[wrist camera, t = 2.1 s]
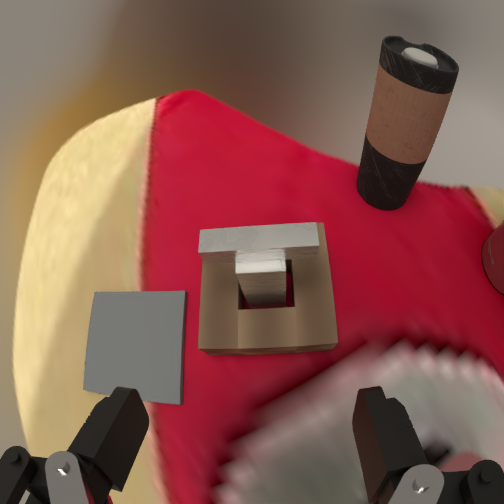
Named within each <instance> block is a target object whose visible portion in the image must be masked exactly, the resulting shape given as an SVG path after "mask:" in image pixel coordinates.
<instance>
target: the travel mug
mask: <svg viewBox="0 0 504 504" xmlns="http://www.w3.org/2000/svg"><path fill="white" fill-rule="evenodd" d="M458 71H459V67H458V65H457V63H456V62H455V61H454V60H453V59H452V58H451V57H450V56H449V55H447V54H446V53H444V52H443V51H441V50H439V49H437V48H436V47H434V46H432V45H429V44H425V43H424V44H421V45H417V44H412V43H409V42H407V41H405V40H404V39H403V38H402V37H400V36H387V37H385V38H384V39H383V41H382V46H381V53H380V59H379V66H378V72H377V78H376V83H375V89H374V94H373V100H372V105H371V110H370V114H369V119H368V124H367V129H366V134H365V140H364V146H363V152H362V157H361V162H360V167H359V172H358V178H357V188H358V191H359V193H360V195H361V197H362V198H363V199H364V200H365V201H366V202H367V203H369V204H370V205H372V206H374V207H376V208H379V209H382V210H394V209H397V208H399V207H401V206H402V205H403V204H404V203H405V201H406V199H407V198H408V196H409V194H410V192H411V190H412V188H413V186H414V184H415V182H416V181H417V179H418V177H419V175H420V173H421V171H422V169H423V166H424V165H425V163H426V161H427V158H428V156H429V154H430V152H431V149H432V147H433V144H434V142H435V139H436V137H437V134H438V131H439V129H440V126H441V123H442V120H443V118H444V115H445V112H446V109H447V107H448V104H449V101H450V97H451V95H452V92H453V88H454V85H455V82H456V78H457V75H458Z"/></svg>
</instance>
